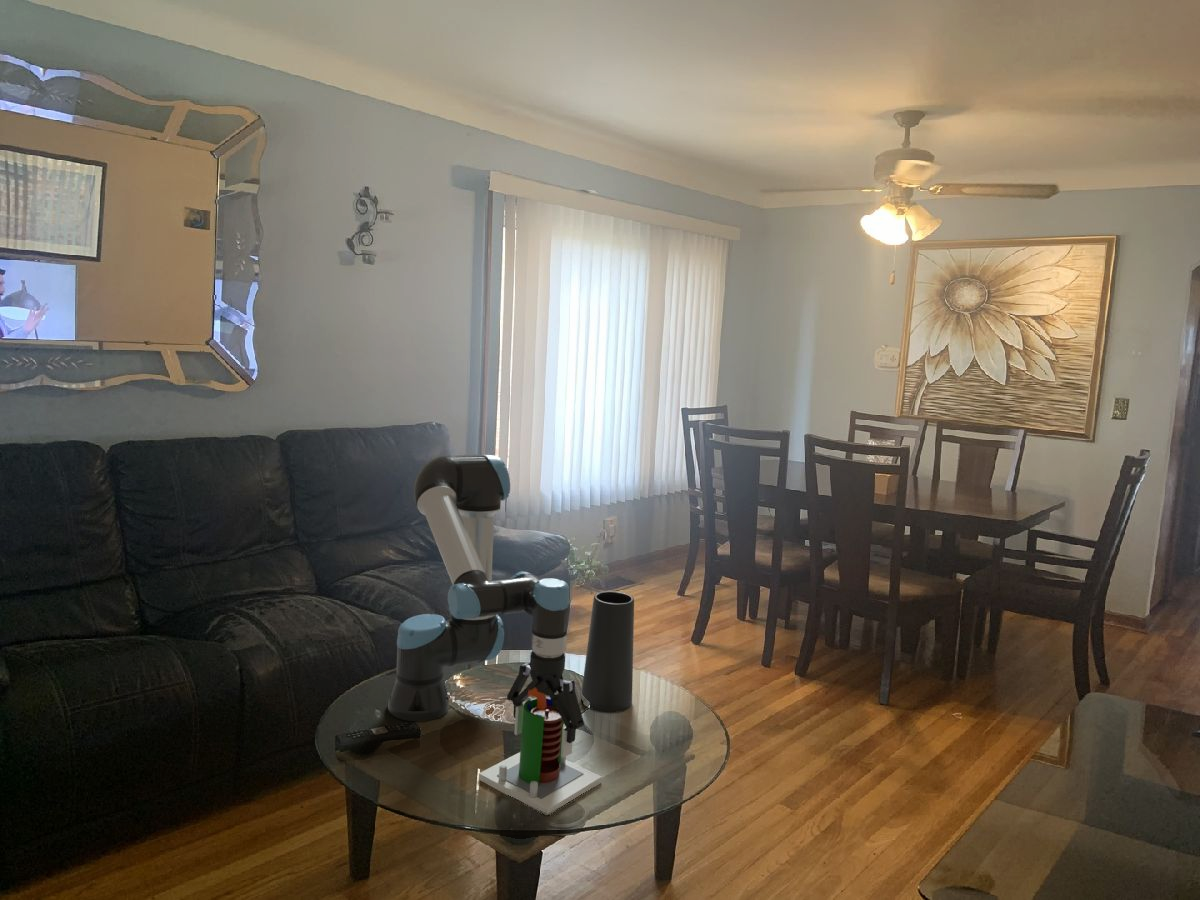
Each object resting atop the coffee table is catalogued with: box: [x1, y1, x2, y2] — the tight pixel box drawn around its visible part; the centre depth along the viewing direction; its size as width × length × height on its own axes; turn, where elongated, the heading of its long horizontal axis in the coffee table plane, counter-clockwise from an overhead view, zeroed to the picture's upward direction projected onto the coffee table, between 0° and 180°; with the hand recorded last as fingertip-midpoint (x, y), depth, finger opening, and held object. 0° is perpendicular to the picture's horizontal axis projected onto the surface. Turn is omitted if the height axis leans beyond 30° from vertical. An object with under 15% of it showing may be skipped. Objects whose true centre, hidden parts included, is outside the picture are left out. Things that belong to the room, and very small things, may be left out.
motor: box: [519, 687, 565, 786], centre depth 194 cm, size 10×9×20 cm
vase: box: [581, 590, 635, 714], centre depth 234 cm, size 14×14×29 cm
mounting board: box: [478, 751, 602, 813], centre depth 195 cm, size 20×18×4 cm
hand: (542, 743), depth 194 cm, fingers open, 13 cm apart
